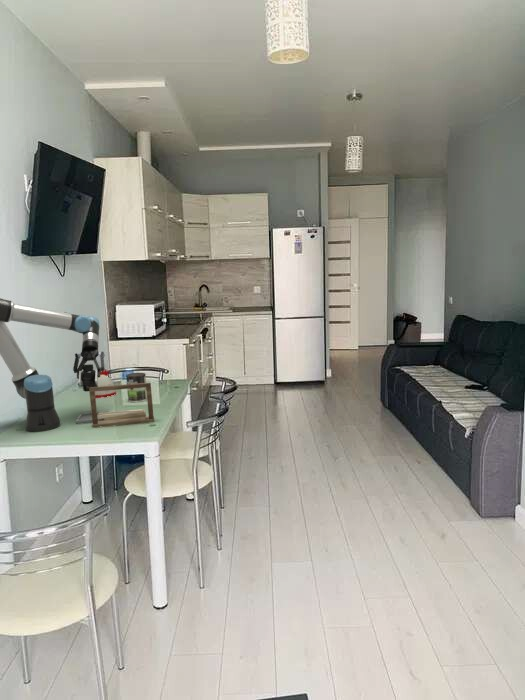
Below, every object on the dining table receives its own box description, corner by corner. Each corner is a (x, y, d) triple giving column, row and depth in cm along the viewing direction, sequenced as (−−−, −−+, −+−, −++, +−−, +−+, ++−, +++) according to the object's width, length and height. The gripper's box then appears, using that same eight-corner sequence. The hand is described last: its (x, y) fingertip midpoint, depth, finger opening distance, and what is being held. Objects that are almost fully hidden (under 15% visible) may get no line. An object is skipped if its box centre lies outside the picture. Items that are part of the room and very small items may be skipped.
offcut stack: (145, 420, 247) (144, 411, 247) (97, 424, 245) (96, 415, 244) (146, 417, 253) (145, 408, 252) (99, 421, 250) (98, 412, 249)
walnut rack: (153, 422, 248) (150, 384, 245) (92, 427, 244) (88, 389, 242) (154, 418, 254) (150, 381, 251) (94, 424, 250) (90, 386, 248)
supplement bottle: (85, 388, 261) (83, 364, 259) (99, 388, 260) (97, 363, 259) (80, 392, 254) (78, 366, 252) (95, 391, 254) (92, 366, 252)
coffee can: (141, 402, 287) (138, 376, 285) (124, 402, 291) (122, 376, 289) (151, 398, 297) (149, 372, 295) (135, 397, 300) (132, 372, 298)
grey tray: (105, 421, 254) (105, 418, 253) (76, 424, 252) (75, 420, 252) (109, 414, 267) (108, 411, 266) (81, 416, 265) (80, 413, 264)
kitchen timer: (119, 394, 309) (117, 369, 307) (95, 399, 302) (92, 372, 299) (111, 391, 321) (108, 366, 319) (87, 395, 313) (85, 369, 311)
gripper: (112, 347, 271) (111, 385, 257) (71, 350, 268) (68, 389, 255) (109, 338, 265) (108, 377, 251) (67, 341, 262) (64, 380, 249)
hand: (88, 383), depth 253 cm, fingers closed on supplement bottle, 7 cm apart
